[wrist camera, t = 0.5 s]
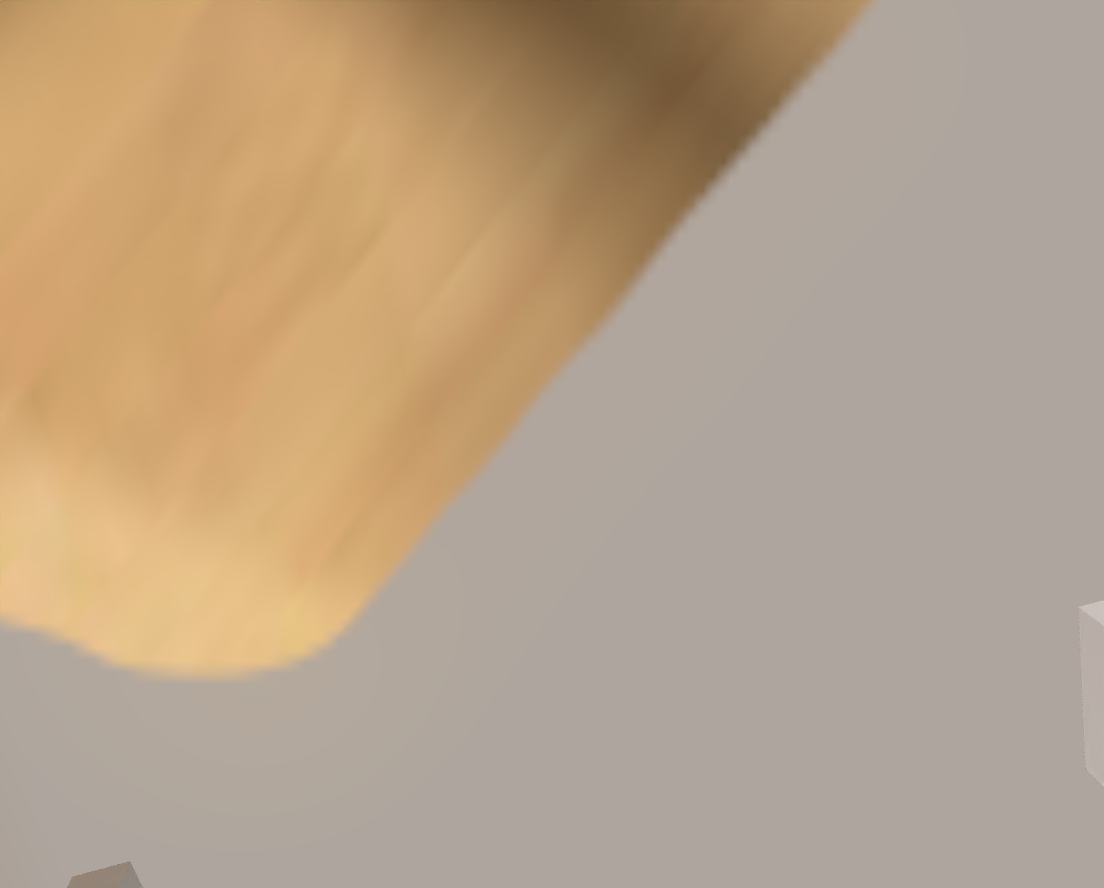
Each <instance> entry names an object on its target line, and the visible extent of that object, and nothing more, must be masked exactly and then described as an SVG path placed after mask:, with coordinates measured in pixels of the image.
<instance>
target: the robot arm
mask: <svg viewBox="0 0 1104 888" xmlns="http://www.w3.org/2000/svg"><path fill="white" fill-rule="evenodd" d="M1078 609H1079V634H1080V658H1081V680H1082V681H1081V682H1082V705H1083V728H1084V754H1085V769H1086V770H1087V771H1088V772H1089V773H1090V774H1091V775H1092V776H1093V777H1094V778H1095V779H1096V780H1097V781H1098V782H1099V783H1100V784H1101V785H1102V786H1103V787H1104V600H1102V601H1099V602H1095V603H1091V604H1088V605H1084V606H1080V607H1078ZM67 888H143V887H142V885H141V883H140V881H139V879H138V877H137V875H136V873H135V871H134V869H133V867H132V864H131V862H126V863H122V864H118V865H115V866H111V867H108V868H104V869H100V870H96V871H92V872H89V873H85V874H81V875H77V876H74V877H72V879H71V881H70V883H69V885H68V887H67Z"/></svg>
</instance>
